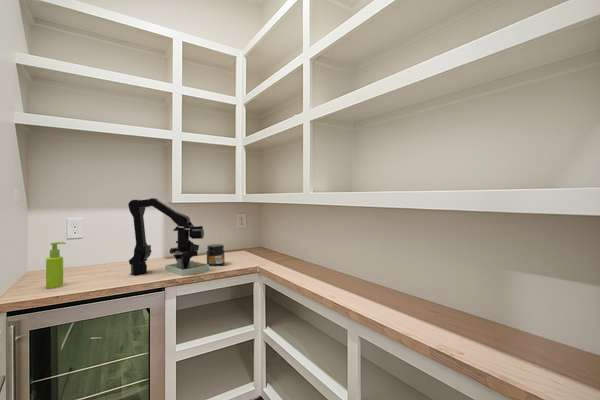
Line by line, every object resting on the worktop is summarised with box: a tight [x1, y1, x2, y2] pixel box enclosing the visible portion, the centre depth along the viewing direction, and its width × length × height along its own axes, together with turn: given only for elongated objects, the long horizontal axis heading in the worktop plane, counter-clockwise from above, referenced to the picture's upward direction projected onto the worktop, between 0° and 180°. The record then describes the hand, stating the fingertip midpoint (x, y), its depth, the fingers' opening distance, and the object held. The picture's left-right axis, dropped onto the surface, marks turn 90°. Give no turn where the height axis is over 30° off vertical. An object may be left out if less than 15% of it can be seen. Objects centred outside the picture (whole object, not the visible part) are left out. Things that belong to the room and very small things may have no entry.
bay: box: [164, 260, 210, 277], centre depth 155 cm, size 16×19×4 cm
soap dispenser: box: [45, 241, 67, 289], centre depth 129 cm, size 6×7×20 cm
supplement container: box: [206, 243, 226, 267], centre depth 170 cm, size 10×10×12 cm
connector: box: [176, 259, 195, 270], centre depth 152 cm, size 8×4×6 cm, turn 141°
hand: (183, 268), depth 151 cm, fingers closed on connector, 4 cm apart
